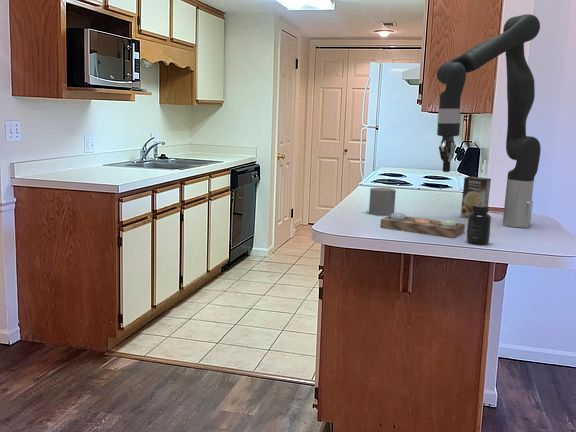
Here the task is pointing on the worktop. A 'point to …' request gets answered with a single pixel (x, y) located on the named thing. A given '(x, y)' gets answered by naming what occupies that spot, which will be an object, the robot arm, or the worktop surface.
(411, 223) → the button panel
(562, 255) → the worktop surface
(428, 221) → the terracotta button
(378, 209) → the coffee mug
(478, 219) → the supplement bottle
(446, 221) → the sage button
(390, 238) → the worktop surface
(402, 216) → the slate button
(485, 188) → the coffee box
